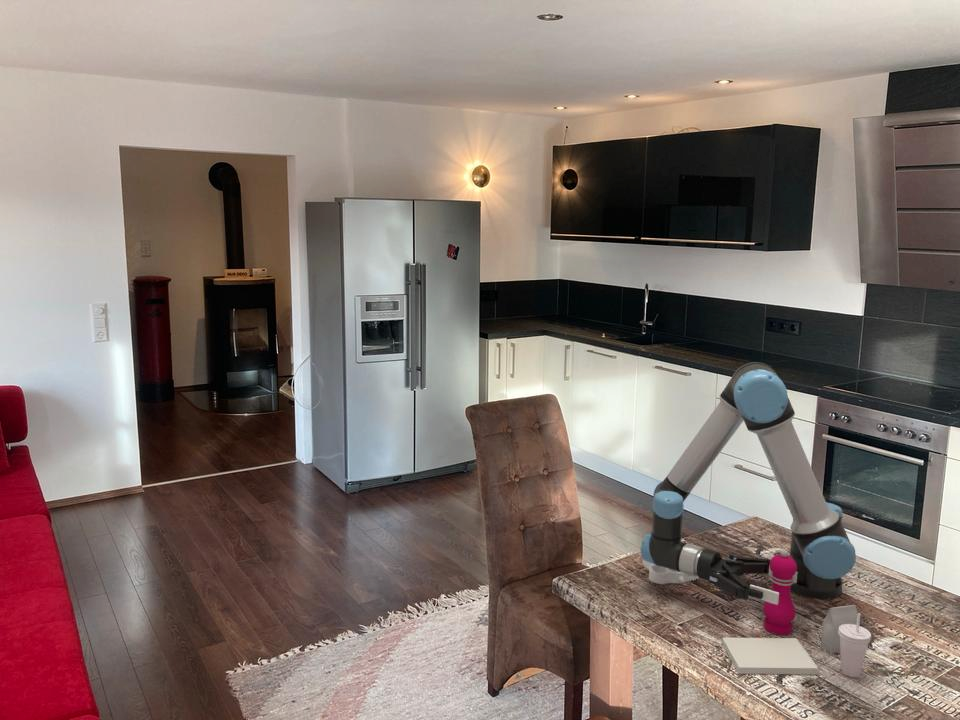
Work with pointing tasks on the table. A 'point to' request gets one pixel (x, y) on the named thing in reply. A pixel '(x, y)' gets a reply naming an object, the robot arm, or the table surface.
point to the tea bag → (836, 626)
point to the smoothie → (853, 647)
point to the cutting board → (769, 656)
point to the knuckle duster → (666, 574)
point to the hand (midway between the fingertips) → (787, 588)
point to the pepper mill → (781, 595)
